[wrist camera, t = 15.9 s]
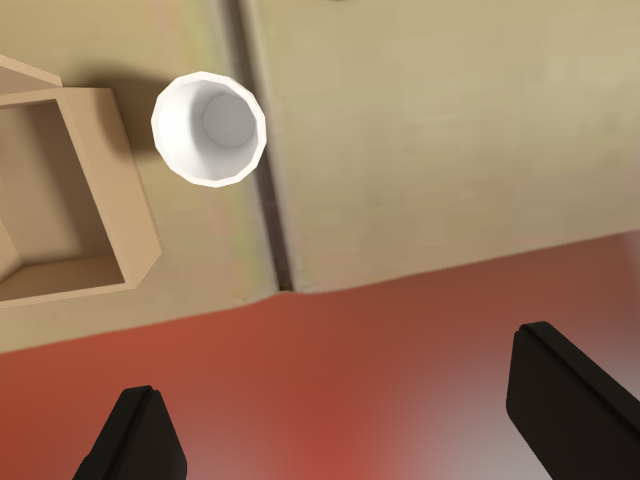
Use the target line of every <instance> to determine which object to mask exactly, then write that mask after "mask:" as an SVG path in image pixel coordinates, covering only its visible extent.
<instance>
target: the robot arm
mask: <svg viewBox="0 0 640 480" xmlns="http://www.w3.org/2000/svg"><path fill="white" fill-rule="evenodd" d="M506 409H507V413H508V415H509V417H510V419H511V421H512V422H513V424H514V425H515V426H516V428H517V429H518V431H519V432H520V434H521V435H522V437H523V438H524V439H525V441H526V442H527V444H528V445H529V447H530V448H531V449H532V451H533V452H534V454H535V455H536V456H537V458H538V459H539V461H540V462H541V463H542V465H543V466H544V468H545V469H546V471H547V472H548V474H549V475H550V476H551V478H552V479H553V480H640V401H639V400H637V399H636V398H635V397H634V396H632V394H630V393H629V392H628V391H627V390H626V389H625V388H624V387H622V386H621V385H620V384H619V383H618V382H617V381H615V380H614V379H613V378H612V377H611V376H610V375H608V374H607V373H606V372H605V371H604V370H603V369H601V368H600V367H599V366H598V365H597V364H596V363H595V362H593V361H592V360H591V359H590V358H589V357H587V356H586V355H585V354H584V353H583V352H582V351H581V350H580V349H578V348H577V347H576V346H575V345H574V344H573V343H571V342H570V341H569V340H568V339H567V338H566V337H564V336H563V335H562V334H561V333H560V332H558V331H557V330H556V329H555V328H554V327H553V326H552V325H551V324H549V323H548V322H545V321H541V322H536V323H529V324H524V325H521V327H520V328H519V331H516V333H515V334H514V341H513V349H512V358H511V366H510V374H509V383H508V391H507V399H506ZM186 476H187V461H186V458H185V455H184V453H183V450H182V448H181V445H180V442H179V440H178V437H177V435H176V432H175V429H174V427H173V424H172V422H171V419H170V416H169V414H168V411H167V409H166V406H165V404H164V401H163V398H162V396H161V393H160V392H159V391H158V390H153V388H152V387H151V386H150V385H147V386H140V387H134V388H128V389H125V390H124V391H123V392H122V393H121V395H120V397H119V399H118V400H117V402H116V404H115V406H114V408H113V410H112V412H111V414H110V416H109V417H108V420H107V421H106V423H105V425H104V427H103V429H102V431H101V433H100V435H99V436H98V438H97V440H96V442H95V444H94V446H93V448H92V450H91V451H90V453H89V454H88V455H87V456H86V457H85V458H84V460H83V461H82V463H81V464H80V466H79V468H78V470H77V472H76V474H75V476H74V477H73V479H72V480H186Z"/></svg>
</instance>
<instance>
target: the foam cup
mask: <svg viewBox="0 0 640 480" xmlns="http://www.w3.org/2000/svg"><path fill="white" fill-rule="evenodd" d="M151 125H152V130H153V135H154V141H155V146H156V148H157V150H158V151H159V153H160V154H161V156H162V157H163V159H164V160H165V162H166V163H167V164H168V166H169V167H170V169H171V170H173V171H174V172H176V173H177V174H179V175H180V176H182V177H183V178H185V179H187V180H188V181H190V182H191V183H193V184H199V185H205V186H210V187H216V188H217V187H221V186H225V185H228V184H232V183H236V182H239V181H241V180H242V179H243V178H244V177H245V176H246V175H247V174H249V173H250V172H251V171H252V170H253V169H254V168H255V167H256V166H257V164H258V162H259V159H260V157H261V154H262V152H263V149H264V147H265V144H266V127H265V116H264V114H263V113H262V111H261V109H260V107H259V105H258V103H257V101H256V99H255V98H254V96H253V94H252V93H250V92H249V91H248V90H247V89H245V88H244V87H243V86H241V85H240V84H239V83H238V82H236V81H235V80H234V79H233V78H229V77H225V76H220V75H216V74H212V73H207V72H203V71H201V72H197V73H193V74H189V75H186V76H182V77H178V78H176V79H175V80H174V81H173V82H172V83H171V84H170V85H169V86H168V87H167V88H166V89H165V90H164V91H163V92H162V93H161V94H160V95H159V96H158V98H157V101H156V105H155V108H154V112H153V115H152V119H151Z"/></svg>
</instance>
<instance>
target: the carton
mask: <svg viewBox="0 0 640 480" xmlns="http://www.w3.org/2000/svg"><path fill="white" fill-rule="evenodd" d="M163 251H164V250H163V247H162V244H161V240H160V237H159V234H158V231H157V228H156V225H155V221H154V218H153V215H152V212H151V209H150V206H149V203H148V199H147V196H146V193H145V190H144V187H143V184H142V180H141V177H140V174H139V171H138V168H137V165H136V162H135V158H134V155H133V152H132V149H131V146H130V143H129V139H128V136H127V133H126V130H125V127H124V124H123V121H122V117H121V114H120V111H119V108H118V105H117V102H116V98H115V95H114V92H113V89H112V88H74V87H60V88H51V89H43V90H35V91H27V92H18V93H10V94H2V95H0V308H7V307H14V306H20V305H27V304H34V303H41V302H47V301H54V300H61V299H67V298H74V297H81V296H87V295H94V294H101V293H108V292H114V291H121V290H128V289H134V288H136V287H137V286H138V284H139V283H140V282H141V280H142V279H143V278H144V276H145V275H146V274H147V272H148V271H149V269H150V268H151V267H152V265H153V264H154V263H155V261H156V260H157V259H158V257H159V256H160V255H161V253H162V252H163Z"/></svg>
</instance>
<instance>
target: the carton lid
mask: <svg viewBox="0 0 640 480" xmlns="http://www.w3.org/2000/svg"><path fill="white" fill-rule="evenodd" d="M58 87H63V86H62V82H61V79H60V77H59V76H56V75H54V74H51V73H48V72H46V71H43V70H40V69H38V68H35V67H33V66H30V65H27V64H25V63H22V62H19V61H17V60H14V59H11V58H9V57H6V56H3V55H1V54H0V94H9V93H17V92H25V91H33V90H42V89H50V88H58Z"/></svg>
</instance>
